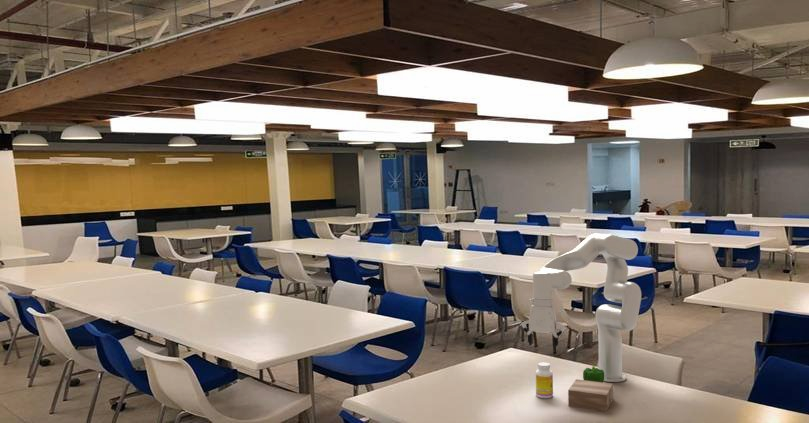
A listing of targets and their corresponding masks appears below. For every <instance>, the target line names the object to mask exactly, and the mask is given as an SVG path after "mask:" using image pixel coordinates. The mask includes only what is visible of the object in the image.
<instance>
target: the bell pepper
mask: <svg viewBox="0 0 809 423" xmlns="http://www.w3.org/2000/svg"><path fill="white" fill-rule="evenodd" d="M582 380H586V381H595V382H603V383H605V381H604V371H603V370H600V369H599V367H595V365H592V366H591V368H589V367H586V368H585V369H583V371H582Z"/></svg>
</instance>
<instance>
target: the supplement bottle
mask: <svg viewBox="0 0 809 423" xmlns="http://www.w3.org/2000/svg"><path fill="white" fill-rule="evenodd" d="M550 368H551V364H550V363H549V362H543V361H542V362H539V363H537V369H536V371H535V395H536V397H538V398H539V399H551V398H552V397H553V396H554V384H553V383H554V379H553V377H554V376H553V371H552V370H551V369H550Z"/></svg>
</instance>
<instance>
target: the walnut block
mask: <svg viewBox="0 0 809 423" xmlns="http://www.w3.org/2000/svg"><path fill="white" fill-rule="evenodd" d="M613 386H614V384H613V383H612V382H595V381H586V380H584V379H578V378H577V379H575V380H574V382H573V383H572V384H571V385H570V387H569V388H568V389H567V391H568V392H567V396H568V397H567V398H568V399H567V403H568V407H574V408H583V409H589V410H596V411H603V412H607V411H608V409H609V407H610V406H611V403H612V402H613V400H614V392H613V391H614V390H613Z"/></svg>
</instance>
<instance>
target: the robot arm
mask: <svg viewBox="0 0 809 423" xmlns="http://www.w3.org/2000/svg"><path fill="white" fill-rule="evenodd" d="M638 251H639V247H638V245H637V243H636V241H634V240H633V239H630V238H626V237H622V236H618V235H614V234H608V233H592V234H589V235H588V236H587V237H586V238H585V239H583V241H581V242H580V243H579V244H578V245H577V246H576V247H574V249H572V250H570V251H569V252H566V253H564V254H561V255H559V256H556V257H555V258H553V259H551V260H549V261H548V262H547V263H546V264H545V265H543V267H541V269H540V270H539V271H535V272H533V274H532V298H530V299H529V303H531V304H532V305H530V310H529V316H528V317H529V318H528V319H527V320H525V321H522V322H521V323H520V325H521V327H522V328H523V331H524V332H525V333H526V335H527V343H528V346H532V345H533V343H534V334H533V332H534V333H546V334H552V336H553V338H552V342H553V343H552V347H553V348H554V349H555V348H557V346H559V336H561V335H562V334H563V333H564V330H565V329H566V326H565V325H563V323H560V322H559V321H557V316H556V310H555V306H554V305H553V290H564V289H568V288H569V287H570V286H571V284H572V281H573V280H572V279H573V278H572V275H571V274H570V273H569V271H575V270H580V269H581V270H582V269H584V268H586V267H587V266H589V264H591V263H592V261H594V260H595V259H596V258H597V257H598V256H600V255H602V257H603V258H604V260H605V262H606V266H607V268H606V269H607V271H606V277H605V281H604V282H605V283H604V287H603V297H604V298H605V299H606V300H607V301H609V302H613V303H617V304H621V306H620V305H616V304H615V305H614V304H610V303H608V304H607V303H606V304H605V303H604V304H601V305H600V306H598V307H597V308H596V311H595V321H596V324H597V333H598V336H597V337H598V369H600V370H603V371H604V382H605V383H619V382H624V381H626V380H627V376H626V374H625V373H623V337H622V332H621V331H624V332H625V331H626V332H630V331H632V330H634V328H635V327H636V326H637V323H638V320H639V312H640V308H641V303H642V302H641V301H642V290H641V287H640V286H639V285H638V284H637V283H636V282H633V281H628V274H629V267H628V264H627V262H626V260H627V261H629V260H630V261H631V260H633V259H635V258H636V257H637V255H638V253H639V252H638ZM527 324H528V327H527ZM557 327H558V328H559V331H557Z"/></svg>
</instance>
